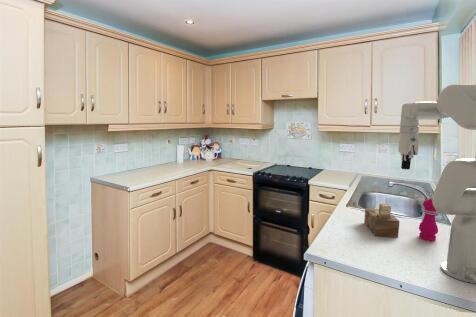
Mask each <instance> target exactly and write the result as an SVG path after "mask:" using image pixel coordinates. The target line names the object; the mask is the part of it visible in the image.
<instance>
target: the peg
mask: <svg viewBox="0 0 476 317" xmlns="http://www.w3.org/2000/svg"><path fill="white" fill-rule="evenodd" d="M378 209H379V214H378V217H379V218H380V219H390V213H391V212H392V211H391V210H392V205H390V204H389V203H382V202H381V203H379V205H378ZM391 214H392V213H391Z"/></svg>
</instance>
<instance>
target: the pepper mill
mask: <svg viewBox="0 0 476 317" xmlns="http://www.w3.org/2000/svg"><path fill="white" fill-rule="evenodd" d="M422 206H423V213H424V215H423V219H422V220H421V222H420V223H419V226H418V229H419V231H420V232H419V235H418V236H419V238H420V239H421V240H424V241H428V242H435V241H436V240H437V236H436V235H437V234H438V233H439V227H438V224H437V222H436V217H437V216H436V215H438V211H437V210H436V209H435V208H434V206H433V195H430V196H429V198H427V199H425V200H424V201H423V202H422Z"/></svg>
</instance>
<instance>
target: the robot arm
mask: <svg viewBox="0 0 476 317" xmlns="http://www.w3.org/2000/svg"><path fill="white" fill-rule="evenodd" d="M400 114H401V115H400V123H399V142H398V152H399V153H400V156H401V165H400V168H401V169H402V170H410V169H411V161H412V159H414V156H417V155H419V154H418V153H419V131H420V122H421V121H422V120H423V121H425V120H426V121H427V120H431V121H432V120H435V121H436V120H442V119H447V118H451V119H452V121H454V122H455V124H456V125H458V126H459V127H461V128H463V129H464V130H471V131H476V83H454V84H449V85H447V86H445V87H444V88H442V89H441V91H440V92H439V94H438V96H437V100H436V101H416V102H415V101H414V102H410V103H404V104H402V106H401V112H400ZM433 191H434V192H433V194H432V196H433V206H434V208H435V209H436V210H437V213H440V214H442V215H448V216H450V215H451V216H453V218H452V221H451V225H450V226H451V227H450V232H449V240H448V250H447V258H446V261H442V262H441V263H440V270H442V272H444V274H446V275H448V276H450V277H452V278H454V279H456V280H458V281H462V282H466V283H469V282H470V283H471V284H476V155H475V156H474V157H473V158H458V159H453V160H451V161H449V163H447V164H446V165H445V166H444V168H443V170H442V172H441V175H440V177H439V180H438V182H437V184H436V187H435V189H434V190H433Z"/></svg>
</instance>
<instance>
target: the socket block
mask: <svg viewBox="0 0 476 317" xmlns="http://www.w3.org/2000/svg"><path fill="white" fill-rule="evenodd" d="M378 214H379V208H365V209H364V219H363V220H364V222H363V224H364V225H365V226H366V228H368V230H370V232H371V233H372V235H373V236H374V237H378V238H379V237H381V238H399V230H400V220H399V219H398V218H397V217H396V216H394V215H393V214H392V213H390V219H380V218H379V217H378Z"/></svg>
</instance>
